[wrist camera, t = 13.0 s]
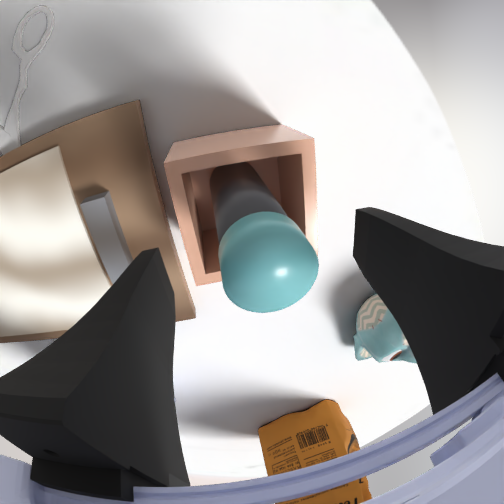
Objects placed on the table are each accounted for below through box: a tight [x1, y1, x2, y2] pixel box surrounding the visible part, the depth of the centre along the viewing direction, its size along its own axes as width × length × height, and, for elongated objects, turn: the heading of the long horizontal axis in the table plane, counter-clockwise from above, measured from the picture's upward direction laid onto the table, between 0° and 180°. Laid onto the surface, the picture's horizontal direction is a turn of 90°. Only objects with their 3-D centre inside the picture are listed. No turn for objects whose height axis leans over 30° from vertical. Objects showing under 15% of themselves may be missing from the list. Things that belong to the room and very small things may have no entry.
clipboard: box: [0, 100, 196, 343], centre depth 15 cm, size 15×24×2 cm, turn 97°
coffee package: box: [258, 400, 372, 504], centre depth 27 cm, size 10×12×22 cm
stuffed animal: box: [353, 293, 417, 363], centre depth 24 cm, size 11×7×12 cm
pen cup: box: [164, 124, 318, 286], centre depth 15 cm, size 6×6×5 cm
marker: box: [210, 162, 319, 313], centre depth 13 cm, size 3×3×9 cm
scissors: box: [0, 5, 54, 155], centre depth 12 cm, size 11×1×20 cm
